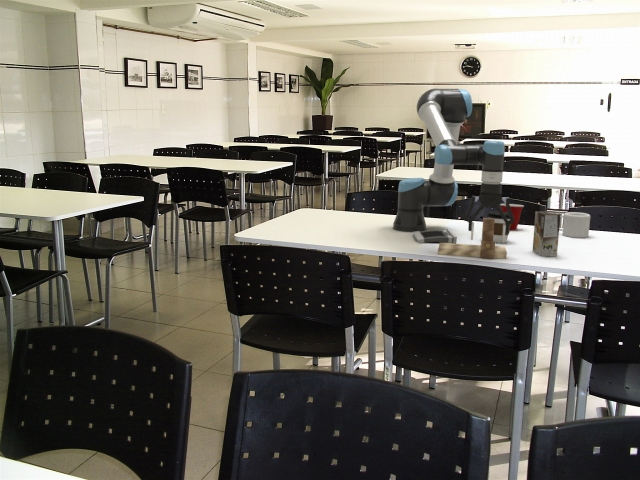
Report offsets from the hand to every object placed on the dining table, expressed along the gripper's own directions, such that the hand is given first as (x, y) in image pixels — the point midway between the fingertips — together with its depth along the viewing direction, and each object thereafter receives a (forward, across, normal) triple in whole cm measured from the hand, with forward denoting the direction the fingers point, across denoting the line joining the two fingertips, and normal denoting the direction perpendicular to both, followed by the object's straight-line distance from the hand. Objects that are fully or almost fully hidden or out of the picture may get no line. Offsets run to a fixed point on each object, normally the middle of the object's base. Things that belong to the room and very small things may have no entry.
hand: (487, 240), depth 233 cm
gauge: (+5, 0, -1) cm, 5 cm away
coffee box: (+6, +22, +8) cm, 24 cm away
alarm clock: (+6, -21, +24) cm, 33 cm away
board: (+5, -6, 0) cm, 8 cm away
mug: (+6, +39, +51) cm, 64 cm away
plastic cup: (+6, +13, +59) cm, 61 cm away
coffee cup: (+6, +6, +28) cm, 29 cm away
